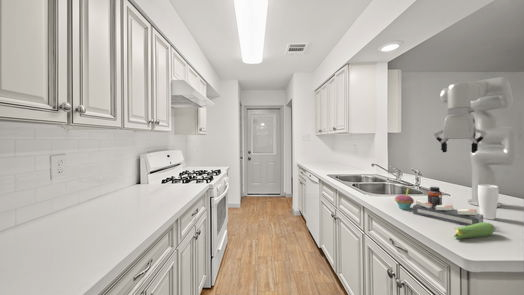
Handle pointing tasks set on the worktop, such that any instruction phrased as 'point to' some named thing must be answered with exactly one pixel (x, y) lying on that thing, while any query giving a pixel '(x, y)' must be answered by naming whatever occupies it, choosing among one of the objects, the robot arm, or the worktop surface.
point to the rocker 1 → (424, 203)
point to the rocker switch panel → (447, 215)
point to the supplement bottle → (435, 196)
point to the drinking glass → (488, 200)
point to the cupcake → (404, 201)
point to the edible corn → (474, 230)
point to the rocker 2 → (444, 207)
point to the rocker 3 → (467, 211)
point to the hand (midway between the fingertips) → (458, 152)
